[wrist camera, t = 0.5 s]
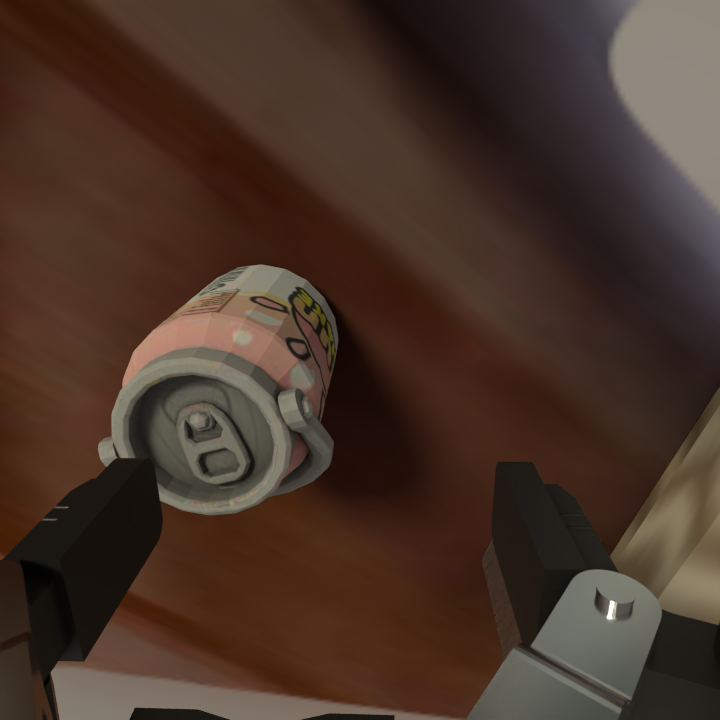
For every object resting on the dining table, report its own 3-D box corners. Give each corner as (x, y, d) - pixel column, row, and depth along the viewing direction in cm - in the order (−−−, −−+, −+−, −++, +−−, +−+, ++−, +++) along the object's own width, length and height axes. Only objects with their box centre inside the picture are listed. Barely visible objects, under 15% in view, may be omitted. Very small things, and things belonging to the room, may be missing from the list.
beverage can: (366, 392, 31) (354, 531, 20) (235, 426, 33) (157, 573, 22) (315, 241, 28) (268, 308, 17) (172, 285, 29) (42, 373, 18)
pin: (502, 518, 34) (554, 689, 24) (554, 532, 35) (628, 709, 24) (481, 558, 36) (521, 738, 25) (531, 572, 36) (592, 756, 25)
